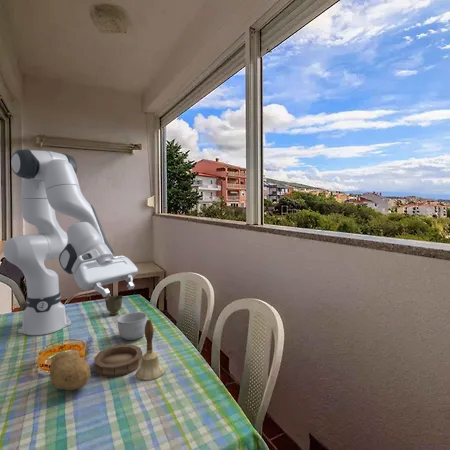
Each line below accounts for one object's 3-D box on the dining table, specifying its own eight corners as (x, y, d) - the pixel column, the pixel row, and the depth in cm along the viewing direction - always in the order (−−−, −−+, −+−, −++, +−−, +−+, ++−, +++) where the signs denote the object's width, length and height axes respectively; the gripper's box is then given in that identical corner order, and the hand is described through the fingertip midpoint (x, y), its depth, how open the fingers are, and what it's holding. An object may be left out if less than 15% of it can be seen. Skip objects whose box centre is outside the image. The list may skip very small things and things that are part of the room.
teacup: (139, 344, 108) (138, 322, 107) (112, 342, 110) (111, 320, 110) (155, 328, 122) (155, 309, 121) (131, 326, 124) (130, 307, 123)
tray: (93, 359, 98) (93, 350, 97) (138, 349, 104) (137, 341, 103) (95, 382, 85) (95, 371, 85) (145, 369, 91) (145, 360, 91)
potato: (63, 406, 75) (61, 375, 74) (42, 385, 84) (41, 357, 83) (100, 388, 82) (99, 359, 82) (78, 370, 91) (76, 344, 91)
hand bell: (130, 373, 89) (128, 321, 88) (153, 362, 96) (152, 313, 94) (146, 384, 84) (145, 328, 83) (170, 371, 90) (169, 319, 89)
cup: (119, 317, 134) (118, 299, 134) (103, 317, 134) (102, 299, 134) (125, 311, 142) (124, 294, 141) (109, 311, 142) (109, 294, 141)
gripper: (121, 260, 109) (141, 289, 104) (65, 271, 92) (86, 307, 87) (128, 248, 107) (149, 278, 102) (73, 257, 89) (95, 293, 85)
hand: (120, 291), depth 94 cm, fingers open, 8 cm apart
